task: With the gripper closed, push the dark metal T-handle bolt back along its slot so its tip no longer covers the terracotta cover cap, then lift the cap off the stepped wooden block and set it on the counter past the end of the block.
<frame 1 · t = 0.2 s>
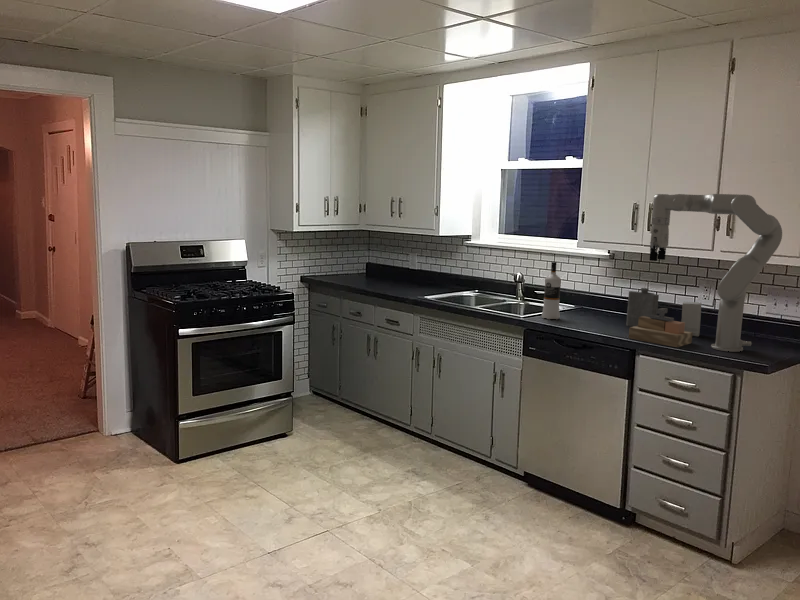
hand: (657, 260, 308), 36 cm above the worktop, fingers open, 9 cm apart
hip flask: (641, 328, 340), on the worktop
vodka: (550, 318, 360), on the worktop
t-key bolt: (662, 314, 308), point 12 cm above the worktop, slide at 0.0 cm
stepped wooden block: (659, 340, 310), on the worktop
cover cap: (674, 332, 304), point 5 cm above the worktop, touching stepped wooden block
skincare box: (689, 335, 325), on the worktop
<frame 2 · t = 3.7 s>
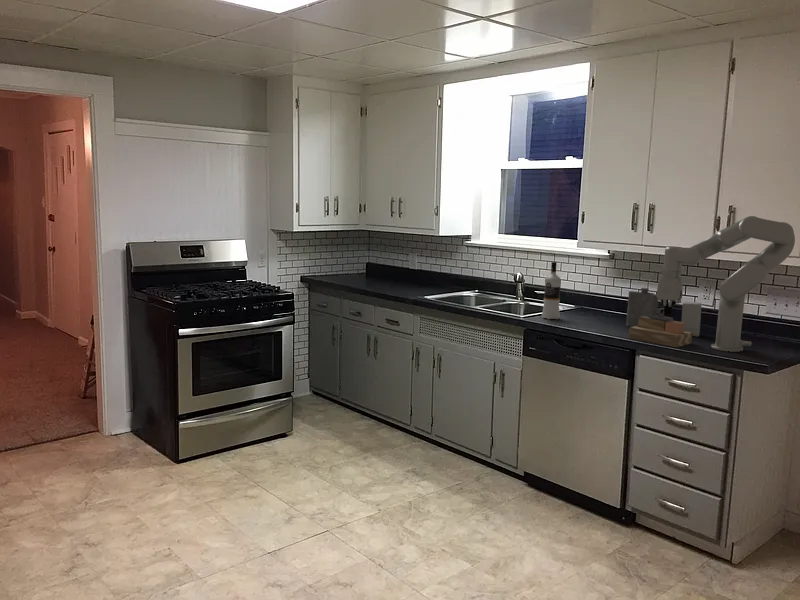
hand: (667, 314, 306), 12 cm above the worktop, fingers closed
t-key bolt: (661, 313, 308), point 12 cm above the worktop, slide at 0.3 cm, touching gripper
everything else where it was.
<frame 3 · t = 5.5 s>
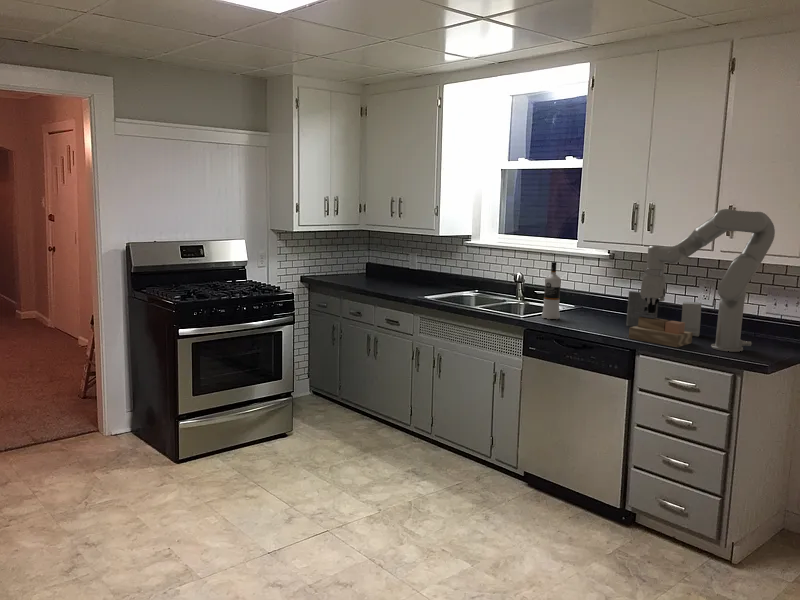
hand: (651, 312, 311), 12 cm above the worktop, fingers closed
t-key bolt: (645, 311, 314), point 12 cm above the worktop, slide at 8.1 cm, touching gripper
everything else where it was.
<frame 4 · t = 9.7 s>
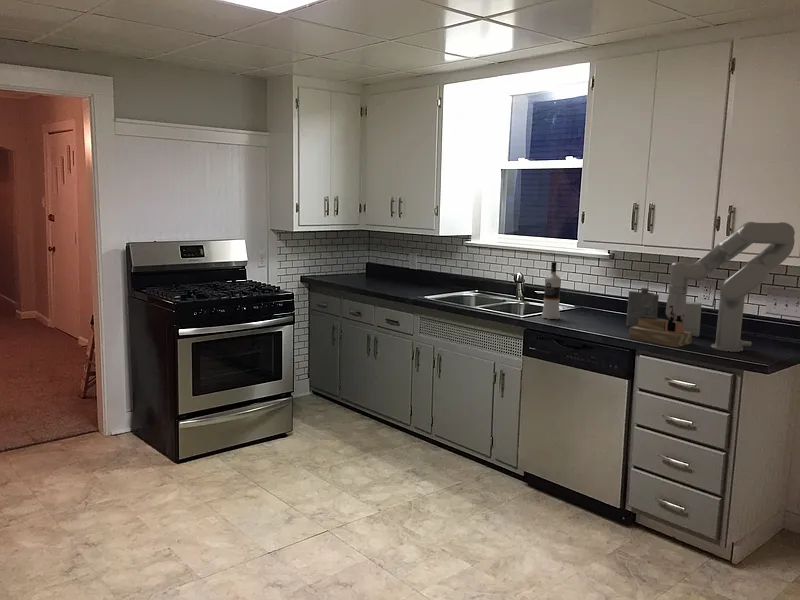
hand: (674, 329, 304), 6 cm above the worktop, fingers closed on cover cap, 6 cm apart
t-key bolt: (645, 311, 314), point 12 cm above the worktop, slide at 8.0 cm
cover cap: (674, 332, 304), point 5 cm above the worktop, touching gripper, stepped wooden block
everything else where it was.
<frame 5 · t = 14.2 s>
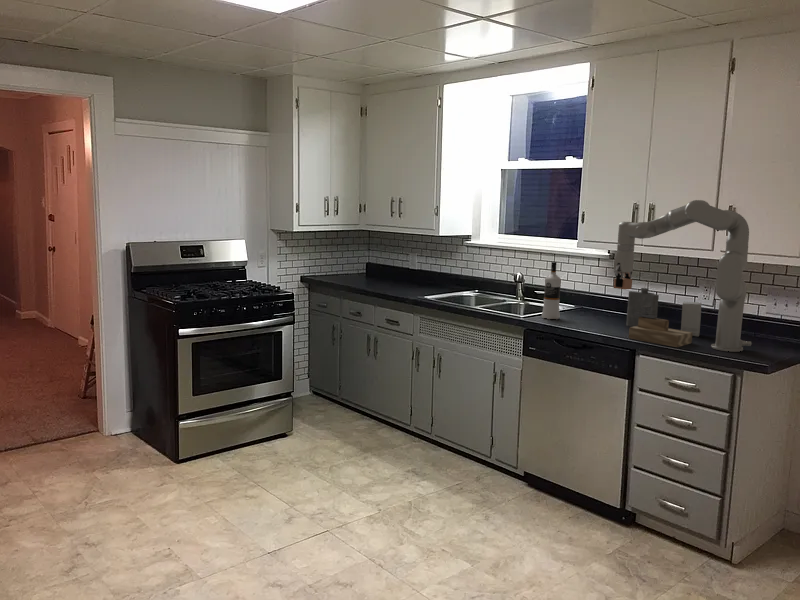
hand: (622, 286, 321), 23 cm above the worktop, fingers closed on cover cap, 6 cm apart
cover cap: (622, 288, 321), point 22 cm above the worktop, touching gripper
everything else where it was.
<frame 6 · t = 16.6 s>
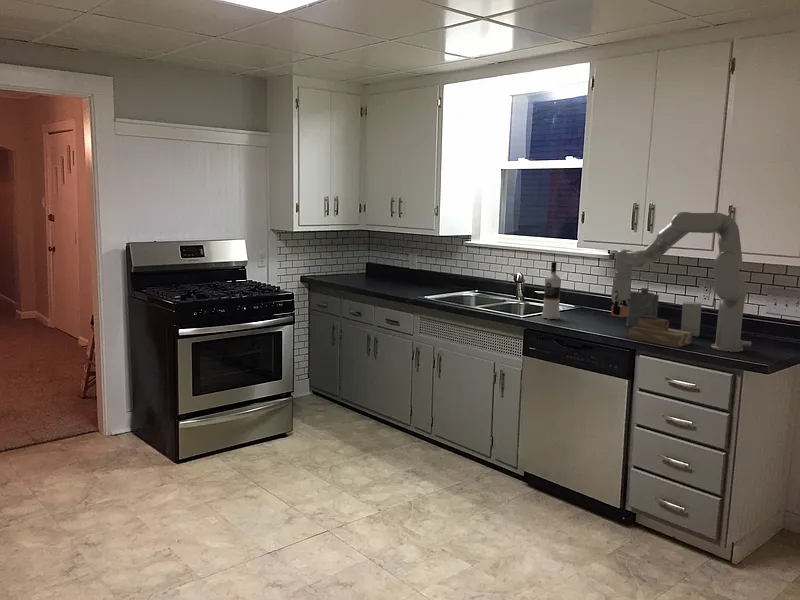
hand: (620, 313, 323), 10 cm above the worktop, fingers closed on cover cap, 6 cm apart
cover cap: (619, 315, 323), point 9 cm above the worktop, touching gripper
everything else where it was.
when the fingers open (2 cm above the worktop, at t = 18.5 s): cover cap drops 2 cm, on the worktop.
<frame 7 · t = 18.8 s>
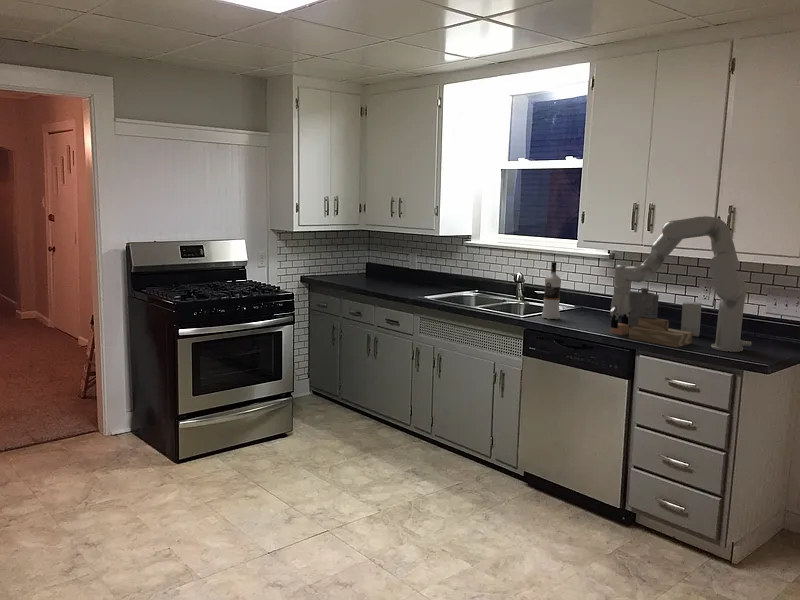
hand: (619, 326, 324), 3 cm above the worktop, fingers open, 8 cm apart
cover cap: (619, 333, 325), on the worktop
everything else where it was.
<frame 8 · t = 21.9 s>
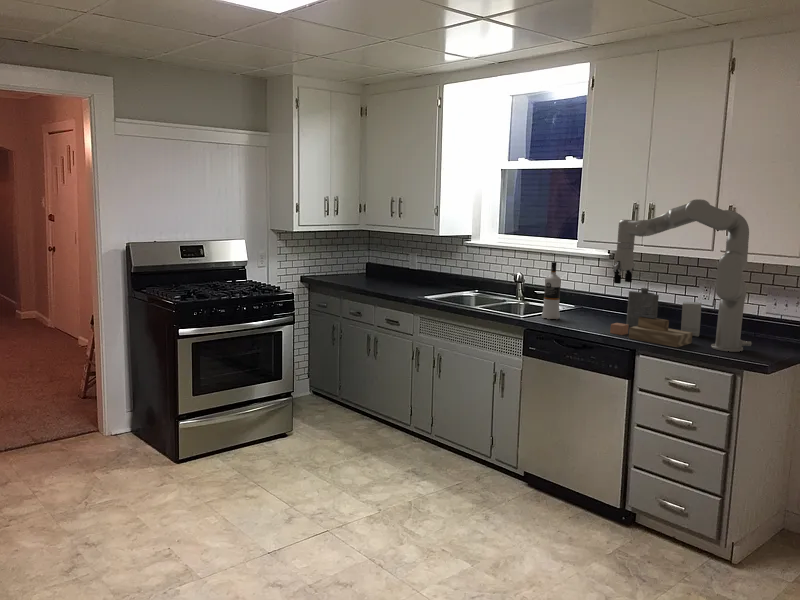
hand: (622, 282, 321), 24 cm above the worktop, fingers open, 9 cm apart
nothing on the worktop moved.
at the end: t-key bolt slide at 8.0 cm; cover cap inside the target area (0.1 cm from its centre), on the worktop; cover cap tilted 0° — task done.
